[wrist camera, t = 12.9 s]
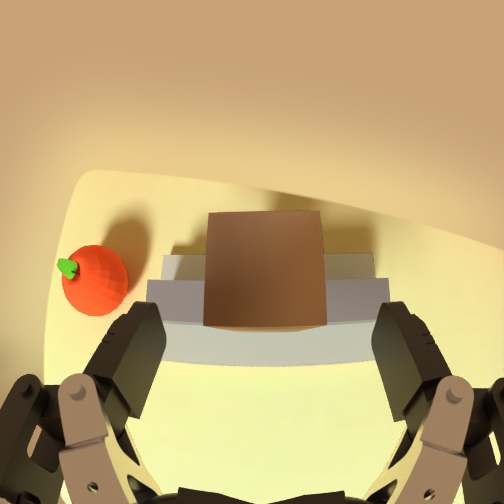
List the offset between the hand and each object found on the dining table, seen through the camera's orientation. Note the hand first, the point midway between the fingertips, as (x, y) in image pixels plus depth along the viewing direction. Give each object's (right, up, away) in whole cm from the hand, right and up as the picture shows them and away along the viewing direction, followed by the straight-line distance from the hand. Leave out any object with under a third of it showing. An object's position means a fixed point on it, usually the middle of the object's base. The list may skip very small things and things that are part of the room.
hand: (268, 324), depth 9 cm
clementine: (-16, -1, +17) cm, 24 cm away
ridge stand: (+1, -3, +16) cm, 16 cm away
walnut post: (0, -1, +9) cm, 9 cm away
